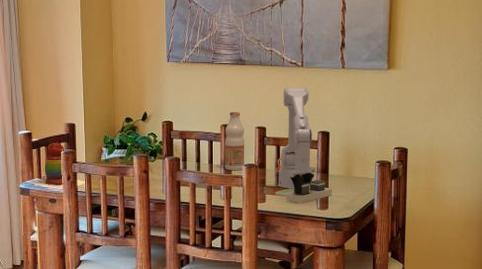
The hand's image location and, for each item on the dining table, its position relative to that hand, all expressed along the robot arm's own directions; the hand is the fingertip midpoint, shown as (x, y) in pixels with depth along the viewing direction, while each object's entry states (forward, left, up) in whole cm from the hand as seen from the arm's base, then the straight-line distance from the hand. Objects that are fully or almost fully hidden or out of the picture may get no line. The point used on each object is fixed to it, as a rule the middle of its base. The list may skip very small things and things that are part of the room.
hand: (301, 192), depth 275 cm
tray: (-9, +4, -4) cm, 10 cm away
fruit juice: (-66, +29, -4) cm, 72 cm away
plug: (0, 0, -2) cm, 2 cm away
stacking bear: (-98, -51, -4) cm, 111 cm away
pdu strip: (0, +5, -4) cm, 6 cm away
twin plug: (0, +10, -3) cm, 10 cm away
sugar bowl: (-36, +36, -4) cm, 51 cm away
